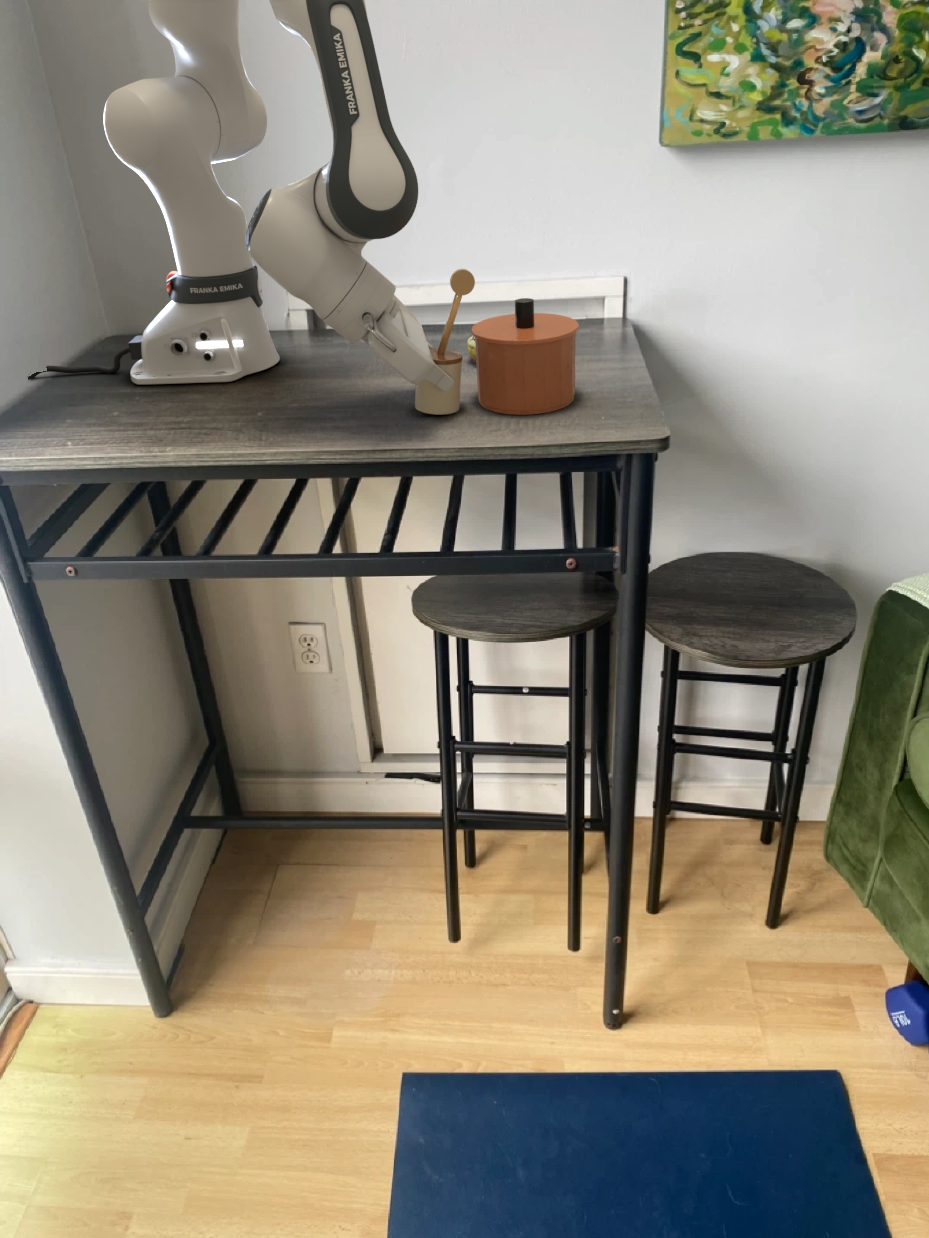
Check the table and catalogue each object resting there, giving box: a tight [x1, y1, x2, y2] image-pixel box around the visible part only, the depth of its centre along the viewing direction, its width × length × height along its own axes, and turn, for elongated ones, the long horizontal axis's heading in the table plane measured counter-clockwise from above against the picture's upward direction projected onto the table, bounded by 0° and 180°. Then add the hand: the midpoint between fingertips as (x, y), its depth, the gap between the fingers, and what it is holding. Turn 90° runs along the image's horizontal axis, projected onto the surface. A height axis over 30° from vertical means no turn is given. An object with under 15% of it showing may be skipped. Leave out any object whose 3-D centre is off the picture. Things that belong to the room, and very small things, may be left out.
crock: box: [414, 268, 476, 416], centre depth 118 cm, size 7×6×17 cm
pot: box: [475, 332, 577, 416], centre depth 122 cm, size 13×13×9 cm
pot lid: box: [471, 297, 579, 345], centre depth 119 cm, size 14×14×4 cm
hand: (447, 377), depth 121 cm, fingers closed on crock, 6 cm apart
